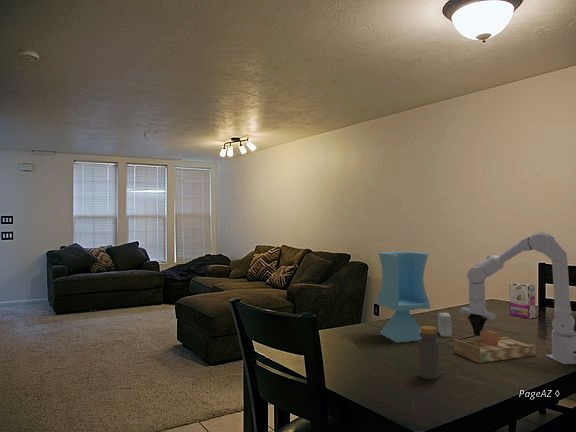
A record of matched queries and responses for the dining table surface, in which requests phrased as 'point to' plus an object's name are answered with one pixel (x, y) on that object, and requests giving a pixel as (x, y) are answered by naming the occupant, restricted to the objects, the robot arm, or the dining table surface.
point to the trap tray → (493, 350)
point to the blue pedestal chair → (402, 293)
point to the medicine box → (444, 324)
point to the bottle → (428, 353)
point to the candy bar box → (522, 300)
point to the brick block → (489, 337)
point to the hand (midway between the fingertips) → (477, 335)
